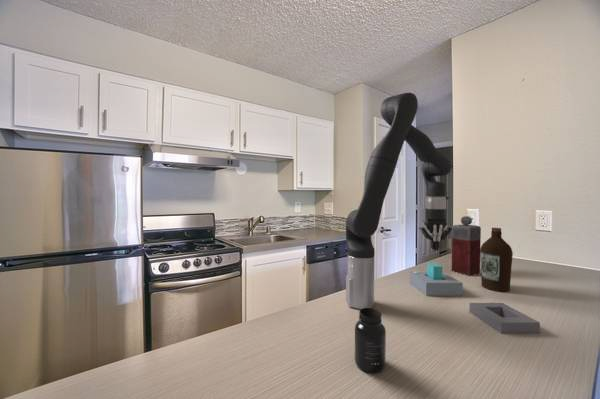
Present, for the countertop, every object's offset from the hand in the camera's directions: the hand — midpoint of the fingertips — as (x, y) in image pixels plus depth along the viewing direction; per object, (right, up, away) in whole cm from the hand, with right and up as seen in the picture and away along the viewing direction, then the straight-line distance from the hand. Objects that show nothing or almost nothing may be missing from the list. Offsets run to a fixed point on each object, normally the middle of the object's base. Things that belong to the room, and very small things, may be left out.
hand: (435, 250), depth 105 cm
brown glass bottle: (+26, -16, +2) cm, 31 cm away
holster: (+6, -17, -27) cm, 32 cm away
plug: (0, -16, 0) cm, 16 cm away
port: (0, -16, 0) cm, 16 cm away
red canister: (+29, -16, +24) cm, 40 cm away
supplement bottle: (-39, -17, -46) cm, 63 cm away
